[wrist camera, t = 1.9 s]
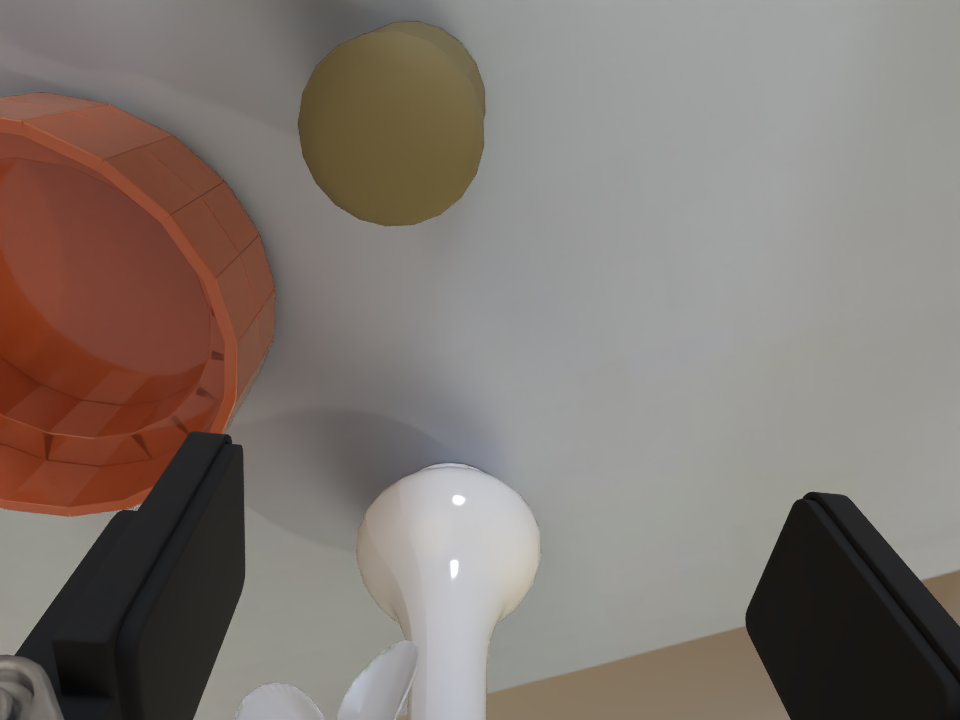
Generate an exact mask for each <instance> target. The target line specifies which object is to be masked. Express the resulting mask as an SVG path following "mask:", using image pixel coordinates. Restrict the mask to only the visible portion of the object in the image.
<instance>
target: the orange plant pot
mask: <svg viewBox="0 0 960 720" xmlns="http://www.w3.org/2000/svg"><path fill="white" fill-rule="evenodd" d="M275 299H276V289H275V285H274V281H273V278H272V275H271V271H270V268H269V264H268V261H267V258H266V254H265V251H264V248H263V244H262V241H261V237H260V235H259V232H258V231H257V229H256V228H255V226H254V225H253V223H252V222H251V220H250V219H249V217H248V216H247V214H246V213H245V211H244V210H243V208H242V206H241V205H240V203H239V202H238V200H237V199H236V197H235V196H234V194H233V193H232V191H231V190H230V188H229V187H228V185H227V184H226V182H224V180H223V179H222V178H221V177H220V176H219V175H218V174H216V173H215V172H214V171H213V170H212V169H211V168H210V167H208V166H207V165H206V164H205V163H204V162H203V161H202V160H201V159H199V158H198V157H197V156H196V155H195V154H194V153H193V152H191V151H190V150H189V149H188V148H187V147H186V146H185V145H184V144H182V143H181V142H180V141H179V140H178V139H177V138H176V137H174V136H172V135H171V134H169V133H167V132H165V131H163V130H161V129H159V128H157V127H155V126H153V125H151V124H149V123H147V122H145V121H143V120H141V119H139V118H137V117H135V116H133V115H131V114H129V113H127V112H125V111H123V110H121V109H119V108H117V107H115V106H113V105H109V104H107V103H101V102H95V101H90V100H84V99H78V98H73V97H67V96H61V95H56V94H50V93H44V92H43V93H42V92H39V93H32V94H24V95H17V96H9V97H2V98H0V508H3V509H7V510H14V511H23V512H32V513H41V514H50V515H59V516H68V517H69V516H71V517H72V516H80V515H87V514H94V513H102V512H109V511H116V510H124V509H129V508H132V507H134V506H136V505H138V504H141V503H143V502H144V500H145V499H146V497H147V496H148V494H149V493H150V491H151V490H152V488H153V487H154V485H155V484H156V482H157V481H158V479H159V478H160V476H161V475H162V473H163V472H164V470H165V469H166V467H167V466H168V464H169V463H170V461H171V460H172V458H173V457H174V456H175V454H176V453H177V451H178V450H179V448H180V447H181V445H182V444H183V442H184V441H185V439H186V438H187V436H188V435H189V434H190V433H191V432H193V431H198V432H208V433H218V434H225V433H226V431H227V430H228V428H229V426H230V424H231V423H232V421H233V419H234V418H235V416H236V414H237V412H238V411H239V409H240V407H241V405H242V404H243V402H244V400H245V399H246V397H247V395H248V393H249V392H250V390H251V388H252V386H253V385H254V383H255V381H256V379H257V377H258V375H259V372H260V370H261V368H262V365H263V363H264V361H265V358H266V356H267V354H268V351H269V349H270V347H271V345H272V342H273V339H274V322H275Z"/></svg>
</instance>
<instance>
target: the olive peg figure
mask: <svg viewBox="0 0 960 720" xmlns="http://www.w3.org/2000/svg"><path fill="white" fill-rule="evenodd" d="M484 116H485V89H484V85H483V82H482V79H481V76H480V73H479V70H478V67H477V64H476V63H475V61H474V60H473V59H472V57H471V56H470V54H469V53H468V52H467V50H466V49H465V48H464V46H463V45H462V43H460V42H459V41H457V40H456V39H455V38H453V37H452V36H451V35H449V34H448V33H447V32H445V31H444V30H442V29H441V28H438V27H434V26H431V25H428V24H425V23H421V22H418V21H414V22H393V23H391V24H389V25H386V26H384V27H382V28H379V29H377V30H375V31H372V32H371V33H365V34H363V35H361V36H358V37H356V38H354V39H351V40H349V41H347V42H344V43H342V44H340V45H338V46H337V47H336V48H335V49H334V50H333V51H332V52H330V53H329V54H328V55H327V56H326V57H325V58H324V59H323V60H322V61H321V62H320V63H319V64H318V65H317V66H316V67H315V69H314V71H313V73H312V75H311V77H310V79H309V81H308V83H307V85H306V87H305V89H304V91H303V93H302V99H301V106H300V112H299V119H298V128H299V135H300V141H301V147H302V154H303V157H304V160H305V162H306V164H307V166H308V168H309V170H310V172H311V174H312V176H313V178H314V180H315V182H316V184H317V185H318V186H319V187H320V188H321V189H322V191H323V192H324V193H325V194H326V195H327V196H328V197H329V198H330V199H331V201H332V202H333V203H334V204H335V205H337V206H338V207H340V208H341V209H343V210H345V211H346V212H348V213H350V214H351V215H353V216H355V217H356V218H358V219H360V220H363V221H367V222H371V223H375V224H379V225H383V226H401V225H414V224H417V223H420V222H422V221H425V220H428V219H430V218H433V217H435V216H438V215H440V214H441V213H443V212H444V211H445V210H446V209H448V208H449V207H450V206H451V205H453V204H454V203H455V202H456V201H457V200H459V199H460V198H461V197H462V195H463V194H464V192H465V191H466V189H467V188H468V186H469V185H470V183H471V181H472V180H473V178H474V177H475V175H476V174H477V170H478V166H479V163H480V159H481V155H482V151H483V148H484V128H483V119H484Z"/></svg>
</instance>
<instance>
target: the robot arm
mask: <svg viewBox="0 0 960 720" xmlns="http://www.w3.org/2000/svg"><path fill="white" fill-rule="evenodd" d="M244 579H245V526H244V472H243V448H242V446H241V445H237V444H232V440H231V437H230V436H229V435H228V434H218V433H208V432H198V431H193V432H191V433H190V434H189V435H188V436H187V438H186V439H185V441H184V442H183V444H182V445H181V447H180V448H179V450H178V451H177V453H176V454H175V456H174V457H173V458H172V460H171V461H170V463H169V464H168V466H167V467H166V469H165V470H164V472H163V473H162V475H161V476H160V478H159V479H158V481H157V482H156V484H155V485H154V487H153V488H152V490H151V491H150V493H149V494H148V496H147V497H146V499H145V500H144V502H143V503H142V505H141V506H140V508H139V509H138V511H133V510H122V511H120V512H118V513H117V514H116V515H115V516H114V517H113V518H112V519H111V521H110V522H109V523H108V525H107V526H106V528H105V529H104V530H103V532H102V533H101V535H100V536H99V537H98V539H97V540H96V542H95V543H94V544H93V546H92V547H91V549H90V550H89V551H88V553H87V554H86V556H85V557H84V558H83V560H82V561H81V563H80V564H79V565H78V567H77V568H76V570H75V571H74V573H73V574H72V575H71V577H70V578H69V580H68V581H67V582H66V584H65V585H64V587H63V588H62V589H61V591H60V592H59V594H58V595H57V596H56V598H55V599H54V601H53V602H52V603H51V605H50V606H49V608H48V609H47V610H46V612H45V613H44V615H43V616H42V617H41V619H40V620H39V622H38V623H37V624H36V626H35V627H34V629H33V630H32V631H31V633H30V634H29V636H28V637H27V638H26V640H25V641H24V643H23V644H22V646H21V647H20V648H19V650H18V651H17V653H16V654H15V655H14V656H12V655H0V720H193V718H194V716H195V713H196V710H197V708H198V705H199V703H200V700H201V697H202V695H203V692H204V689H205V687H206V684H207V682H208V679H209V676H210V674H211V671H212V669H213V666H214V663H215V661H216V658H217V656H218V653H219V650H220V648H221V645H222V643H223V640H224V637H225V635H226V632H227V629H228V627H229V624H230V622H231V619H232V616H233V614H234V611H235V609H236V606H237V603H238V601H239V598H240V596H241V592H242V589H243V585H244ZM745 620H746V628H747V631H748V634H749V636H750V638H751V640H752V642H753V644H754V646H755V648H756V650H757V652H758V654H759V656H760V658H761V660H762V662H763V664H764V666H765V668H766V670H767V672H768V674H769V676H770V679H771V681H772V682H773V685H774V687H775V689H776V691H777V693H778V695H779V697H780V698H781V701H782V703H783V705H784V707H785V709H786V711H787V713H788V715H789V717H790V719H791V720H960V627H959V625H958V624H957V623H956V622H955V621H954V620H953V618H952V617H951V616H950V615H949V614H948V613H947V611H946V610H945V609H944V608H943V607H942V606H941V604H940V603H939V602H938V601H937V600H936V599H935V598H934V596H933V595H932V594H931V593H930V592H929V590H928V589H927V588H926V587H925V586H924V585H923V583H922V582H921V581H920V580H919V579H918V578H917V577H916V575H915V574H914V573H913V572H912V571H911V570H910V568H909V567H908V566H907V565H906V564H905V563H904V561H903V560H902V559H901V558H900V557H899V556H898V554H897V553H896V552H895V551H894V550H893V549H892V547H891V546H890V545H889V544H888V543H887V542H886V540H885V539H884V538H883V537H882V536H881V535H880V533H879V532H878V531H877V530H876V529H875V528H874V526H873V525H872V524H871V523H870V522H869V521H868V519H867V518H866V517H865V516H864V515H863V514H862V512H861V511H860V510H859V509H858V508H857V507H856V505H855V504H854V503H853V502H852V501H851V500H850V499H849V498H848V497H847V496H844V495H839V494H829V493H819V492H809V493H807V494H806V495H805V496H804V497H803V498H802V499H799V500H797V501H796V502H795V503H794V504H793V506H792V508H791V510H790V513H789V515H788V517H787V520H786V522H785V524H784V526H783V529H782V531H781V533H780V535H779V538H778V540H777V542H776V545H775V547H774V549H773V551H772V554H771V556H770V558H769V561H768V563H767V565H766V567H765V570H764V572H763V574H762V577H761V579H760V581H759V583H758V586H757V588H756V590H755V593H754V595H753V597H752V599H751V602H750V604H749V606H748V609H747V612H746V618H745Z"/></svg>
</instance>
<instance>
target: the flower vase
mask: <svg viewBox="0 0 960 720" xmlns="http://www.w3.org/2000/svg"><path fill="white" fill-rule="evenodd" d="M356 556H357V562H358V566H359V569H360V573H361V577H362V580H363V584H364V586H365V587H366V589H367V590H368V592H369V593H370V595H371V597H372V598H373V600H374V601H375V603H376V604H377V605H378V607H379V608H380V609H382V610H383V611H384V612H385V613H386V614H387V615H388V616H390V617H391V618H392V619H393V620H394V621H395V622H397V623H399V625H400V627H401V629H402V632H403V634H404V637H405V640H404V641H402V642H398V643H396V644H395V645H393V646H390V647H389V648H388V649H386V650H385V651H383V652H381V653H380V654H379V655H378V656H377V657H376V658H375V659H373V660H372V661H371V662H370V663H369V664H368V665H367V666H366V667H365V668H364V669H363V670H362V671H361V672H360V674H359V675H358V676H357V678H356V679H355V680H354V681H353V683H352V684H351V686H350V687H349V689H348V691H347V692H346V694H345V696H344V698H343V700H342V702H341V704H340V707H339V709H338V712H337V717H336V720H397V718H398V715H399V713H400V711H401V709H402V706H403V704H404V702H405V700H406V697H407V695H408V710H407V720H487V664H488V652H489V645H490V641H491V637H492V634H493V632H494V629H495V627H496V625H497V623H498V622H500V621H502V620H503V619H504V618H506V617H507V616H508V615H509V614H510V613H511V612H512V611H513V610H514V609H515V608H516V607H517V606H518V605H519V604H520V603H521V602H522V601H523V599H524V598H525V596H526V594H527V593H528V591H529V589H530V588H531V586H532V585H533V583H534V581H535V578H536V574H537V570H538V566H539V561H540V557H541V539H540V529H539V525H538V523H537V521H536V519H535V517H534V515H533V512H532V510H531V508H530V506H529V505H528V504H527V503H526V502H525V500H524V499H523V498H522V497H521V496H520V495H519V494H518V493H517V492H516V491H515V490H514V489H513V488H512V487H510V486H509V485H507V484H506V483H504V482H502V481H501V480H499V479H498V478H496V477H494V476H492V475H489V474H486V473H484V472H482V471H481V470H479V469H477V468H474V467H471V466H468V465H465V464H457V463H443V464H435V465H432V466H429V467H426V468H423V469H421V470H419V471H418V472H416V473H413V474H410V475H408V476H405V477H403V478H401V479H400V480H398V481H397V482H395V483H394V484H392V485H391V486H389V487H388V488H386V489H385V490H383V491H382V492H381V494H380V495H379V496H378V497H377V498H376V499H375V500H374V501H373V503H372V504H371V505H370V506H369V507H368V509H367V511H366V513H365V515H364V517H363V520H362V522H361V524H360V527H359V529H358V537H357V549H356ZM235 720H325V718H324V717H323V715H322V714H321V712H320V710H319V709H318V707H317V705H316V704H315V703H314V702H313V701H312V700H311V698H310V697H309V696H308V695H306V694H305V693H304V692H303V691H301V690H299V689H297V688H295V687H294V686H291V685H287V684H284V683H272V684H266V685H263V686H259V687H258V688H257V689H255V690H254V691H253V692H251V693H250V694H248V695H246V697H245V698H244V700H243V701H241V704H240V706H239V708H238V709H237V713H236V716H235Z"/></svg>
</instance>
